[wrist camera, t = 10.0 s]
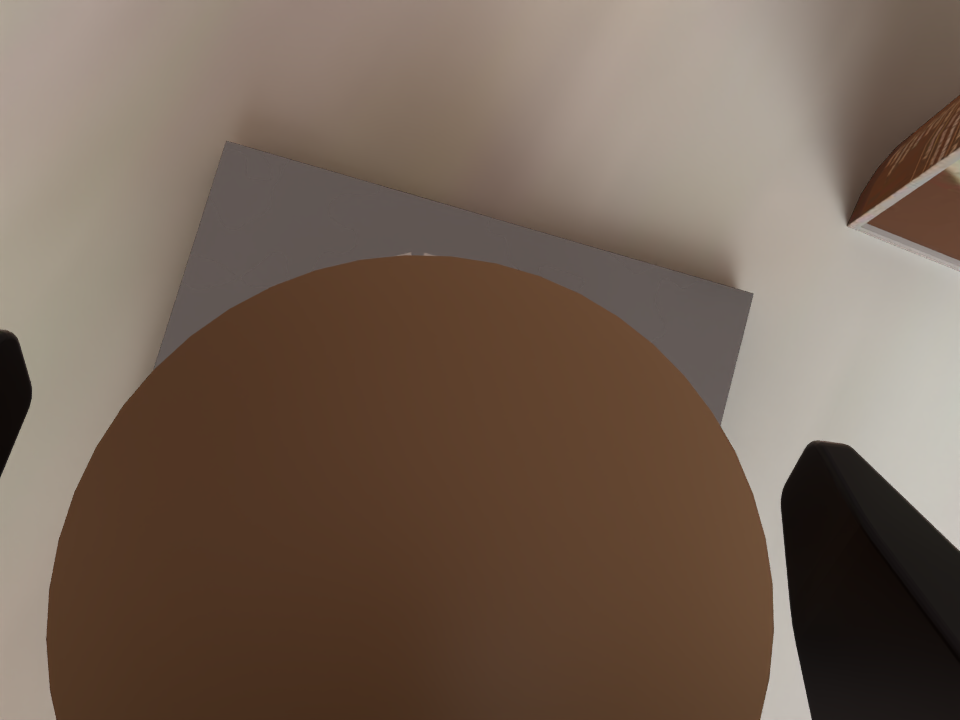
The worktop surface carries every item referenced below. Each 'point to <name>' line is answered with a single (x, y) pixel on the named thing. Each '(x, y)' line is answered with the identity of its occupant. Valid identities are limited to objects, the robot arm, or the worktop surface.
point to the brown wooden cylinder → (412, 518)
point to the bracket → (431, 232)
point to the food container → (918, 192)
